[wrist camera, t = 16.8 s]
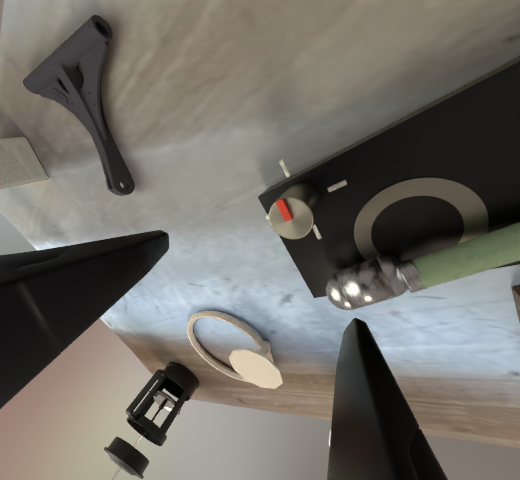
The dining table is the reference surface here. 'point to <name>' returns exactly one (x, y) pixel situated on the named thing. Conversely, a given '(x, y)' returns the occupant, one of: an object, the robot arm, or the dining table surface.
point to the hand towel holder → (242, 354)
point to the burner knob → (295, 211)
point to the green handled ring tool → (421, 269)
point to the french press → (176, 384)
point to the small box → (18, 163)
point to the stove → (414, 168)
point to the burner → (419, 218)
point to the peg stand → (517, 298)
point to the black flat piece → (84, 92)
